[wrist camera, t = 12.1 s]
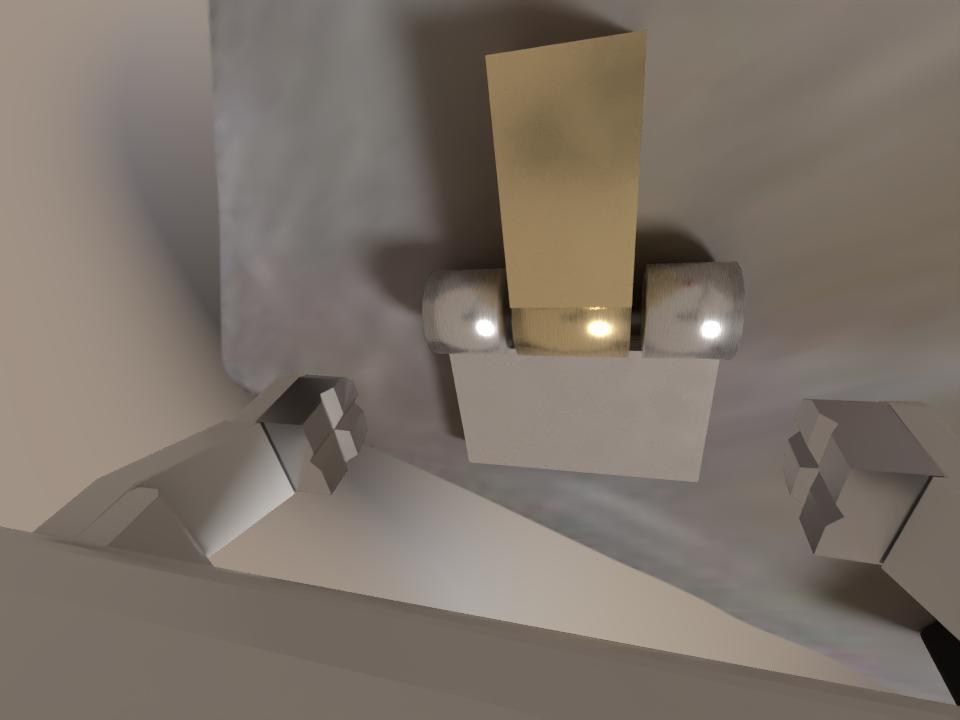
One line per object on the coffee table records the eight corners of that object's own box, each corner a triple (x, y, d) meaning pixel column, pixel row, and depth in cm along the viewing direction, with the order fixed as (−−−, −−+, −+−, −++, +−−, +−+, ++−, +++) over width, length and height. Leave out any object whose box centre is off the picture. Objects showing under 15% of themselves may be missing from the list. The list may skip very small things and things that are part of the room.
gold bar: (529, 329, 30) (516, 372, 26) (509, 55, 22) (485, 55, 18) (625, 330, 28) (627, 375, 24) (640, 35, 20) (647, 29, 16)
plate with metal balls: (475, 444, 37) (458, 492, 33) (443, 258, 29) (415, 291, 24) (693, 460, 32) (704, 518, 28) (728, 247, 24) (751, 285, 20)
